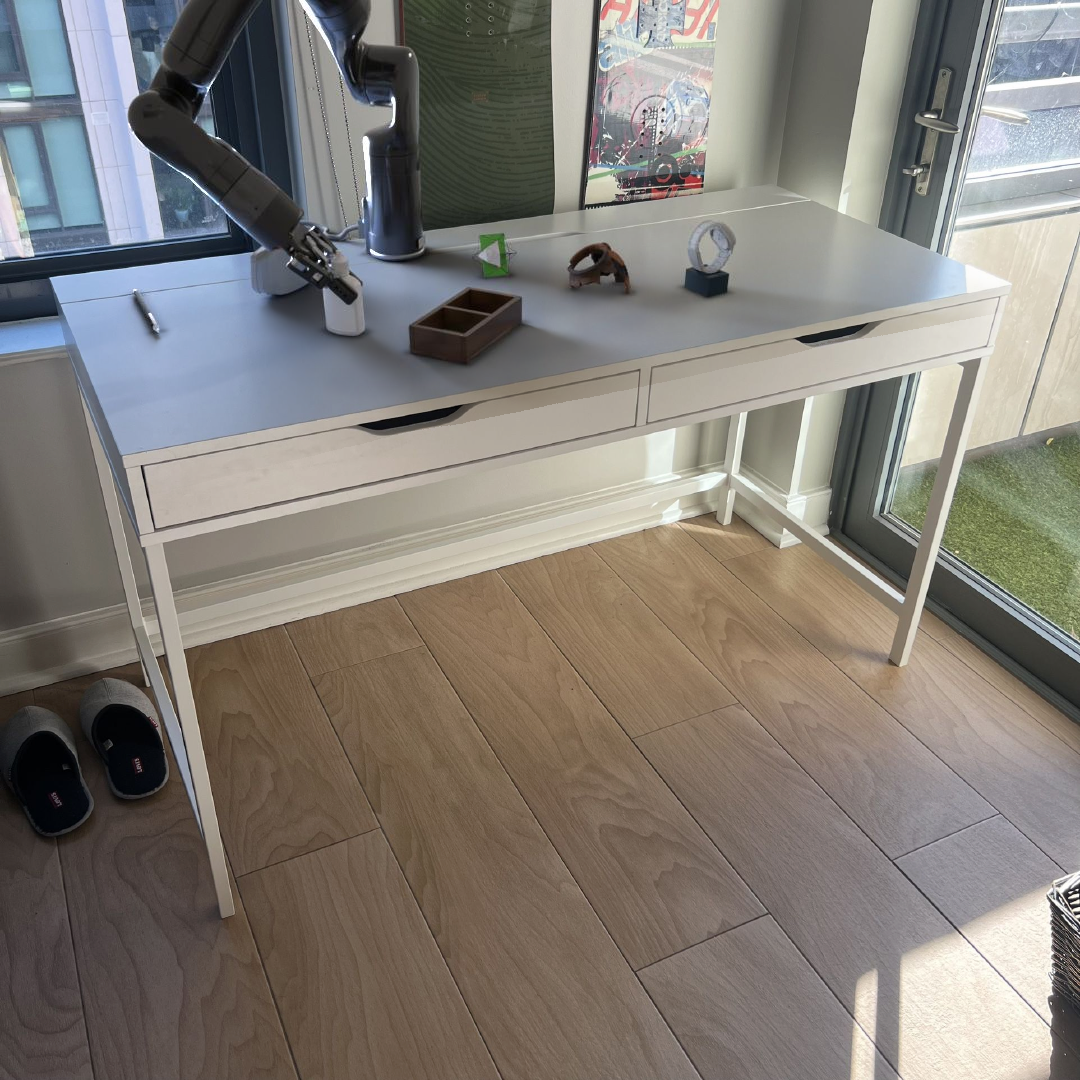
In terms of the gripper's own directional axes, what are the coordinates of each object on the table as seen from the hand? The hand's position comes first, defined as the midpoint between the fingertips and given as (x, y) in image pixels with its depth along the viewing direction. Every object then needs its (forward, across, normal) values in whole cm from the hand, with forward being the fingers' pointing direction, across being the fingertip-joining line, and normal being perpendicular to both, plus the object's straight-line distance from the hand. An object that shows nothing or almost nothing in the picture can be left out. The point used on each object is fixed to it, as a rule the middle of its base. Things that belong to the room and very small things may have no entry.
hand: (356, 294), depth 152 cm
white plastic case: (-5, +18, +14) cm, 23 cm away
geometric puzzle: (+17, +26, -9) cm, 32 cm away
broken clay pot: (+30, +20, -22) cm, 42 cm away
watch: (+42, +20, -34) cm, 57 cm away
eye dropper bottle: (+3, 0, +6) cm, 6 cm away
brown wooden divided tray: (+15, -2, -7) cm, 17 cm away
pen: (-19, +6, +27) cm, 34 cm away
